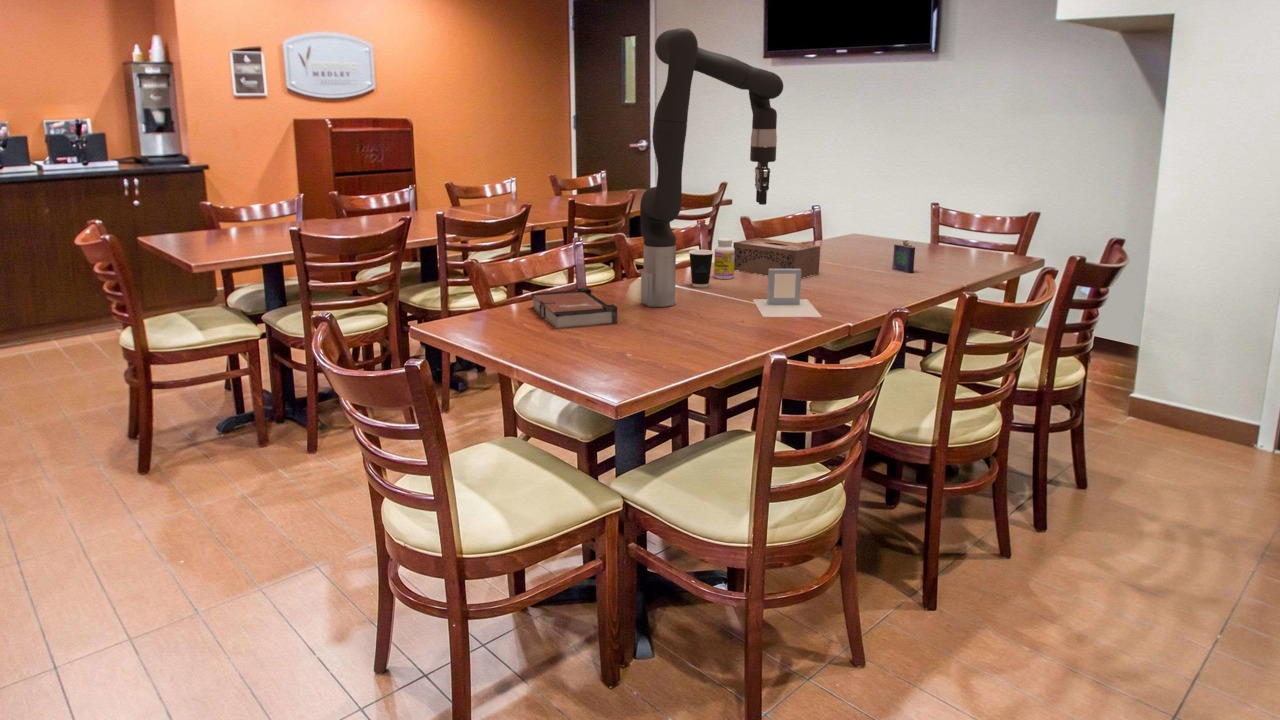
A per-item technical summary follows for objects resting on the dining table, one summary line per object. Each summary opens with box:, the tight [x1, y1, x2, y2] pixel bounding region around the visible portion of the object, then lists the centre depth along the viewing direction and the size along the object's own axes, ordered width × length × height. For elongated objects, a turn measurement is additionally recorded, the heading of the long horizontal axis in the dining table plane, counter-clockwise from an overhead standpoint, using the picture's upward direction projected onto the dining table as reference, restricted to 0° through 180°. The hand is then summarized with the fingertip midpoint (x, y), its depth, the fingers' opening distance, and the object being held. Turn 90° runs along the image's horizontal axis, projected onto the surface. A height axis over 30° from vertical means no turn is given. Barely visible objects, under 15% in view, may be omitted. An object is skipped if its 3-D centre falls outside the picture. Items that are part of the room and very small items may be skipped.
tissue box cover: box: [732, 237, 821, 279], centre depth 306 cm, size 26×14×10 cm, turn 46°
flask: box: [891, 240, 916, 274], centre depth 308 cm, size 9×3×11 cm, turn 28°
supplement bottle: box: [713, 237, 735, 280], centre depth 296 cm, size 7×7×13 cm
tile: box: [766, 269, 802, 305], centre depth 255 cm, size 2×9×10 cm, turn 90°
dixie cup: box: [688, 249, 715, 288], centre depth 283 cm, size 8×8×11 cm
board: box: [752, 298, 823, 318], centre depth 252 cm, size 22×16×1 cm
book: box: [531, 287, 618, 330], centre depth 244 cm, size 26×18×5 cm
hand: (761, 203), depth 266 cm, fingers open, 5 cm apart
